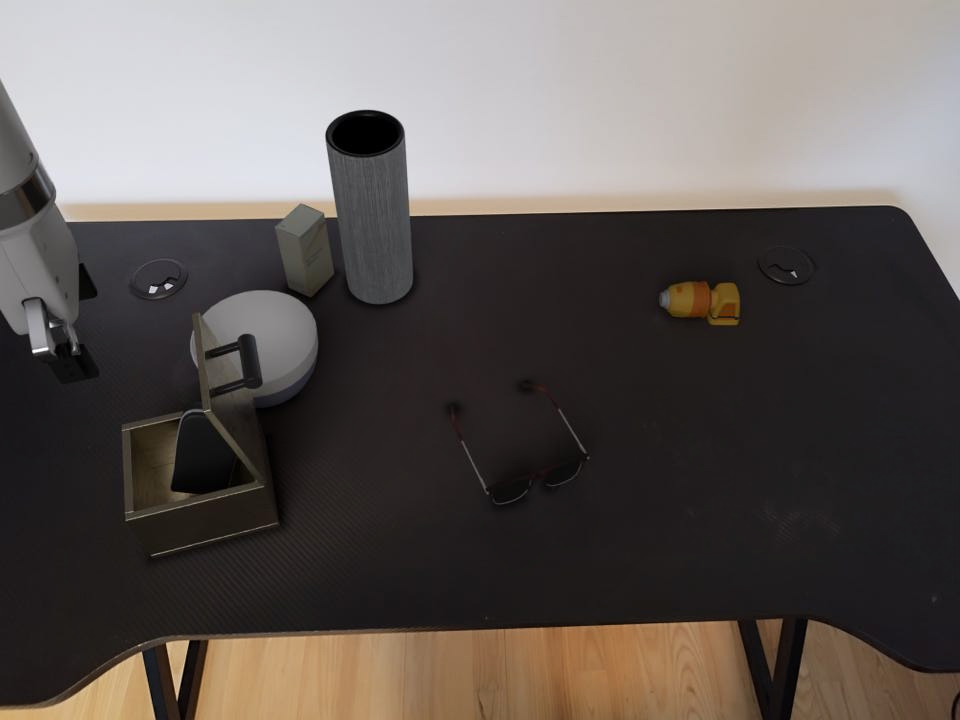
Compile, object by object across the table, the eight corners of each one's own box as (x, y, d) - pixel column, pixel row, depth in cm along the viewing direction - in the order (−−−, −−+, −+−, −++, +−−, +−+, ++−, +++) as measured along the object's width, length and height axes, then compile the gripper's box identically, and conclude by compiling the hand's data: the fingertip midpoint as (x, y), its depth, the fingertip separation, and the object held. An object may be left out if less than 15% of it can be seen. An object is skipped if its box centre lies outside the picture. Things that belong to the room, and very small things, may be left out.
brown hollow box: (152, 559, 93) (125, 520, 85) (147, 467, 100) (121, 424, 92) (280, 526, 96) (264, 486, 88) (265, 439, 103) (250, 395, 95)
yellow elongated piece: (659, 325, 117) (740, 326, 117) (666, 300, 113) (750, 301, 113) (654, 298, 120) (733, 299, 121) (661, 273, 116) (743, 273, 116)
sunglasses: (486, 512, 98) (486, 490, 94) (440, 415, 107) (439, 392, 104) (586, 476, 101) (590, 454, 97) (533, 386, 111) (535, 362, 107)
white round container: (265, 449, 102) (250, 407, 95) (183, 387, 108) (163, 343, 100) (350, 372, 110) (342, 327, 103) (269, 318, 116) (256, 272, 108)
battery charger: (229, 479, 99) (245, 402, 95) (229, 498, 96) (245, 419, 91) (170, 474, 97) (183, 394, 92) (167, 493, 93) (181, 411, 89)
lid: (202, 412, 75) (258, 394, 75) (191, 313, 82) (241, 298, 83) (260, 485, 88) (307, 469, 88) (246, 394, 95) (289, 380, 95)
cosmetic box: (311, 298, 118) (298, 239, 109) (287, 287, 120) (272, 227, 110) (335, 272, 122) (325, 212, 112) (312, 262, 123) (300, 201, 114)
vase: (336, 295, 119) (311, 146, 98) (363, 251, 125) (344, 101, 104) (398, 312, 117) (386, 164, 96) (422, 266, 123) (416, 117, 102)
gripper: (-51, 127, 62) (39, 278, 76) (-75, 281, 52) (33, 423, 66) (51, 112, 64) (121, 262, 78) (46, 259, 54) (127, 402, 67)
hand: (81, 336), depth 72 cm, fingers open, 9 cm apart
